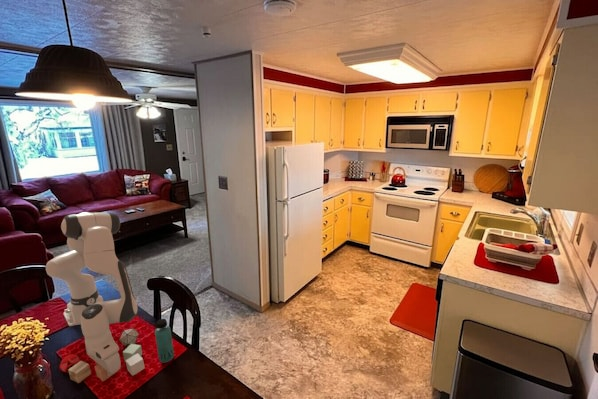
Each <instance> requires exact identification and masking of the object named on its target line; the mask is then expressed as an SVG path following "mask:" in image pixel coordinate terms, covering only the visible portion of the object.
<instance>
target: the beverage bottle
mask: <svg viewBox="0 0 598 399" xmlns="http://www.w3.org/2000/svg"><path fill="white" fill-rule="evenodd" d="M154 335H155V342H156V349H157V357H158V360H159V361H160V362H161V363H168V362H170V361H172V360H173V358H174V356H175V353H174V352H175V351H174V349H175V348H174V343H173V339H172V338H173V336H172V331H171V327H170V326H169V325H168V322H167V319H165V318H161V319H158V320H157V321H156V329H155V331H154Z"/></svg>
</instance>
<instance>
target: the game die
mask: <svg viewBox="0 0 598 399" xmlns="http://www.w3.org/2000/svg"><path fill="white" fill-rule="evenodd" d="M135 327H136V326H134V327H133V328H129V329H123V328H122V333H121V335H120V338H119V339H118V340H117V342H121V344H122V345H123V348H125V347H126V346H127V347H128V346H129V345H130V344H136V343H137V339H138V337H139V335H141V332H138V331H137V330H136V329H135ZM136 345H137V344H136Z"/></svg>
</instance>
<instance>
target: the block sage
mask: <svg viewBox="0 0 598 399" xmlns="http://www.w3.org/2000/svg"><path fill="white" fill-rule="evenodd" d="M137 353H138V354H139V355H140V356H141V357H142V355H143V349H142V345H141V344H130V345H128V346H127V347H126V348H125V349H124V350H123V351H122V356H123V361H124V362H126V360H127V359H129V358H130V357H132V356H134V355H136V354H137Z"/></svg>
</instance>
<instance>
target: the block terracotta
mask: <svg viewBox="0 0 598 399" xmlns="http://www.w3.org/2000/svg"><path fill="white" fill-rule="evenodd" d="M94 369H95V375H96V377H98V379H99V380H101V381H102V382H104V381H106V380H107V379H109V378H110V377H111V376H114V375H115V374H116V373H117V371H116V372H115V373H113V374H112V375H110V376H108V375H107V374H106V371H107V370H105V369H104V368H103V367H102V366H100V365H99V364H98V365H97V364H96V365H94Z"/></svg>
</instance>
